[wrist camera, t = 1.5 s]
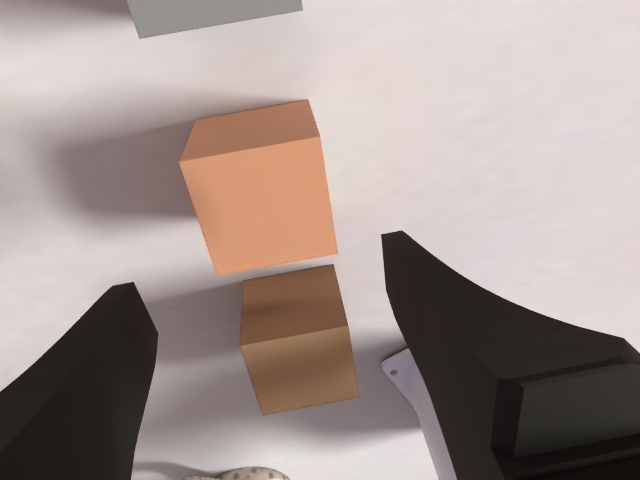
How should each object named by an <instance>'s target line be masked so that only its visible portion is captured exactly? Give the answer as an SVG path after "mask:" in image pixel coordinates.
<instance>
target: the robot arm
mask: <svg viewBox="0 0 640 480" xmlns="http://www.w3.org/2000/svg"><path fill="white" fill-rule="evenodd" d="M381 237H382V248H383V260H384V272H385V283H386V291H387V294H388V297H389V301H390V304H391V307H392V310H393V313H394V316H395V319H396V321H397V324H398V326H399V328H400V330H401V332H402V335H403V337H404V339H405V341H406V343H407V346H408V348H407V349H405V350H403V351H401V352H400V353H398V354H396V355H394V356H392V357H390V358H388V359H386V360H384V361H383V362H382V364H381V367H382V370H383V372H384V373H385V374H386V375H387V377H388V378H389V379H390V380H391V381H392V382H393V384H394V385H395V386H396V387H397V388H398V389H399V391H400V392H401V393H402V394H403V395H404V397H405V398H406V399H407V400H408V401H409V402H410V404H411V405H412V406H413V407H414V408H415V411H416V414H417V417H418V420H419V423H420V426H421V429H422V431H423V434H424V437H425V440H426V443H427V446H428V449H429V452H430V455H431V458H432V461H433V464H434V467H435V470H436V473H437V476H438V478H439V480H640V353H639V352H638V351H637V350H636V349H635V348H634V347H632V346H631V345H630V344H629V343H628V342H627V341H626V340H625V339H624V338H621V337H617V336H613V335H609V334H605V333H601V332H597V331H593V330H589V329H585V328H581V327H578V326H575V325H572V324H568V323H565V322H562V321H559V320H556V319H553V318H550V317H547V316H545V315H542V314H539V313H537V312H534V311H532V310H529V309H527V308H524V307H522V306H519V305H517V304H515V303H512V302H510V301H508V300H506V299H504V298H502V297H500V296H498V295H496V294H494V293H492V292H490V291H488V290H486V289H484V288H482V287H480V286H479V285H477V284H475V283H473V282H472V281H470V280H468V279H467V278H465V277H464V276H462V275H460V274H459V273H457V272H456V271H454V270H453V269H451V268H450V267H449V266H447V265H446V264H444V263H443V262H442V261H440V260H439V259H437V258H436V257H435V256H433V255H432V254H431V253H430V252H428V251H427V250H426V249H425V248H423V247H422V246H421V245H420V244H418V243H417V242H416V241H415V240H413V239H412V238H411V237H410V236H409V235H407V234H406V233H405V232H403V231H397V232H392V233H387V234H381ZM157 342H158V332H157V330H156V328H155V326H154V324H153V322H152V319H151V317H150V315H149V313H148V311H147V309H146V307H145V305H144V303H143V301H142V298H141V296H140V294H139V292H138V290H137V288H136V286H135V284H134V282H131V283H125V284H120V285H115V286H112V287H111V288H110V289H109V290H107V291H106V292H105V293H104V294H103V295H102V296H101V297H100V298H99V299H98V300H97V301H96V302H95V303H94V304H93V305H92V306H91V308H90V309H89V310H88V311H87V312H86V313H85V314H84V315H83V316H82V317H81V318H80V319H79V320H78V321H77V322H76V323H75V324H74V325H73V326H72V327H71V328H70V329H69V330H68V331H67V332H66V333H65V334H64V335H63V336H62V337H61V338H60V339H59V340H58V341H57V342H56V343H55V344H54V345H53V346H52V347H51V348H50V349H49V350H48V351H47V352H46V353H44V354H43V355H42V356H41V357H40V358H39V359H38V360H37V361H36V362H35V363H34V364H33V365H32V366H31V367H29V368H28V369H27V370H26V371H25V372H24V373H23V374H21V375H20V376H19V377H18V378H17V379H15V380H14V381H13V382H12V383H11V384H9V385H8V386H7V387H6V388H4V389H3V390H2V391H1V392H0V480H131V474H132V467H133V459H134V452H135V447H136V442H137V437H138V433H139V429H140V425H141V421H142V417H143V413H144V409H145V405H146V401H147V397H148V393H149V389H150V385H151V381H152V377H153V372H154V368H155V362H156V353H157ZM392 370H394V371H392Z"/></svg>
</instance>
